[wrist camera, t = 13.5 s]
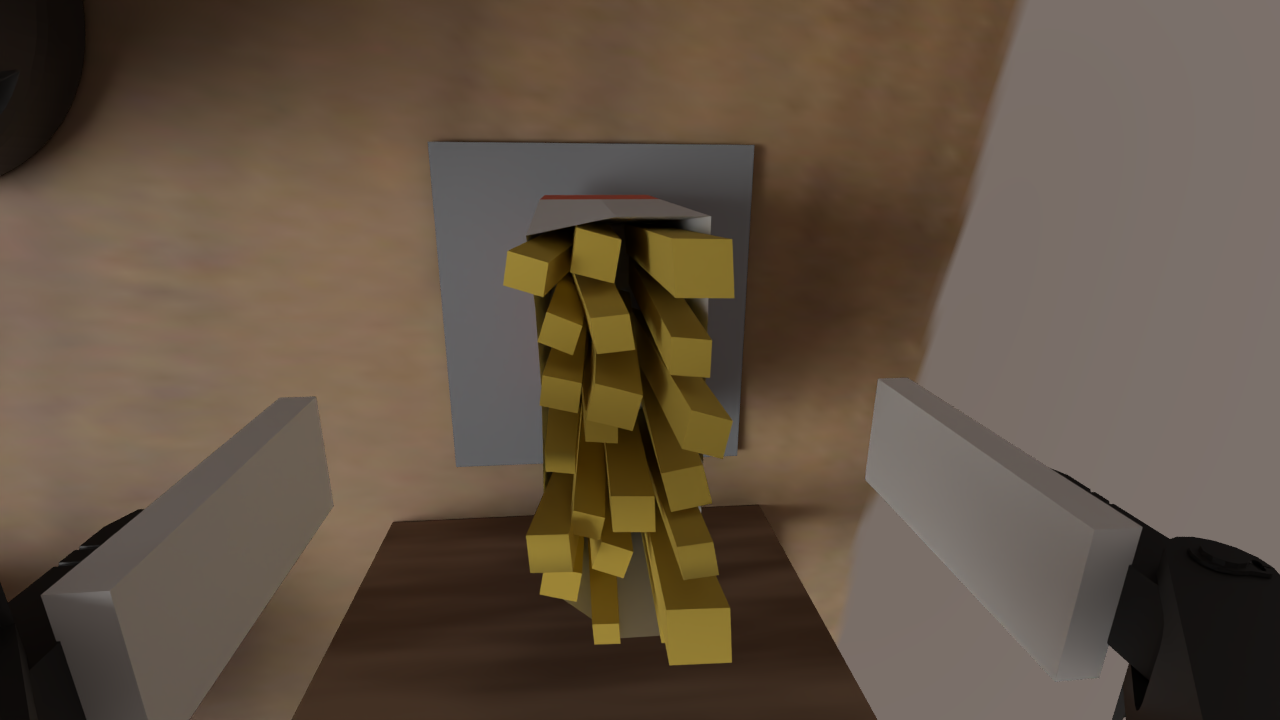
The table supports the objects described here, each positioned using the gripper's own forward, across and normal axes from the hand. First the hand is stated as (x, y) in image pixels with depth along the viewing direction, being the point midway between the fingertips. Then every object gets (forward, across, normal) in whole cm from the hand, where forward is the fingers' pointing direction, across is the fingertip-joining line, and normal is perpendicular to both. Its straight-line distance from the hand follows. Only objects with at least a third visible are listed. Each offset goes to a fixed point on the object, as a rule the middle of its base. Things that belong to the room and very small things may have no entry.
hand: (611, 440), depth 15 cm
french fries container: (+15, 0, 0) cm, 15 cm away
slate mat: (+15, 0, 0) cm, 15 cm away
